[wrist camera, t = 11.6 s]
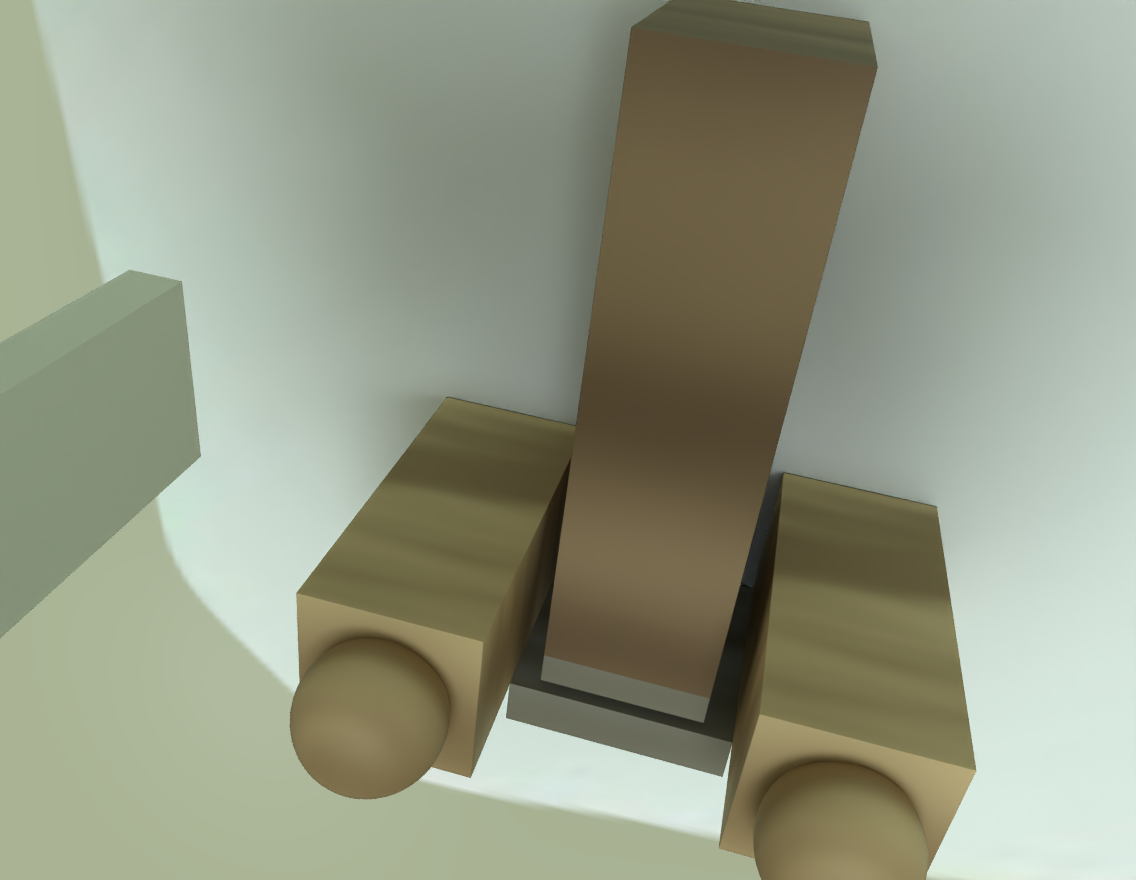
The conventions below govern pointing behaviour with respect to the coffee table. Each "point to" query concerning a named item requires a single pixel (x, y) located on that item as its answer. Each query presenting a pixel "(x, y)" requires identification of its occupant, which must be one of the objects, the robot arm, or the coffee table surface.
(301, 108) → the coffee table surface
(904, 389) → the coffee table surface
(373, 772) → the knobbed wooden twin blocks
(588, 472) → the rail
